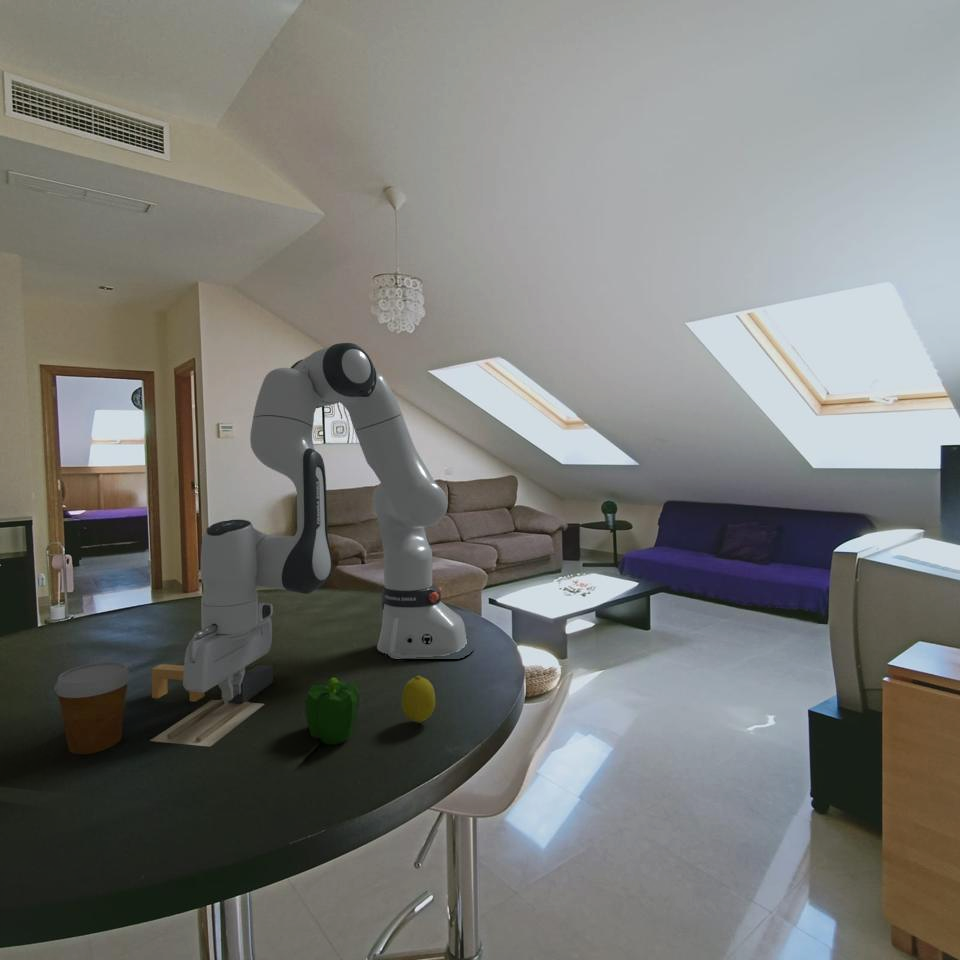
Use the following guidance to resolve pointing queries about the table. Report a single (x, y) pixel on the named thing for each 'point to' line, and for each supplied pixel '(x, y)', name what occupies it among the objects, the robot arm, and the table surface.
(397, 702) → the table surface
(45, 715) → the table surface
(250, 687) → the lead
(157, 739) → the board
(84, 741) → the disposable coffee cup
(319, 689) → the bell pepper
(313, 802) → the table surface
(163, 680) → the wooden arch block
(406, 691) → the lemon
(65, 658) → the table surface
